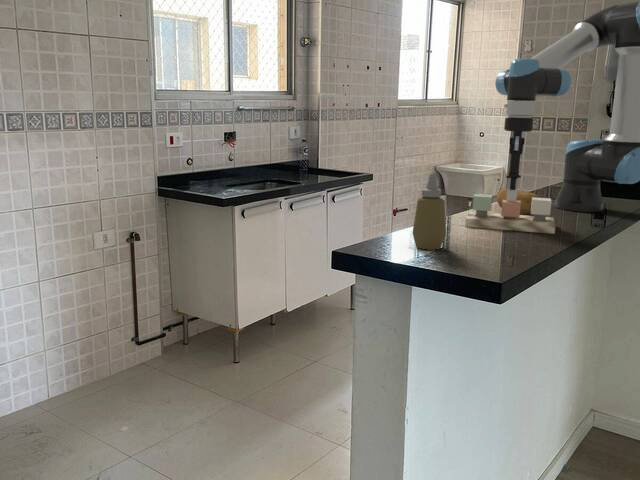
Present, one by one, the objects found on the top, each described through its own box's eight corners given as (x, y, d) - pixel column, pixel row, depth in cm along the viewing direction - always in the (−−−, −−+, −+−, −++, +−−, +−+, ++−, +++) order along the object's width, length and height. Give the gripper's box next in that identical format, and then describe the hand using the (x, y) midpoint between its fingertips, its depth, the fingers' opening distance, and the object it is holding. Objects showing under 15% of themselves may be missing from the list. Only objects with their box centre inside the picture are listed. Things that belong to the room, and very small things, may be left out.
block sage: (490, 215, 177) (492, 194, 176) (489, 218, 173) (491, 197, 171) (473, 214, 179) (474, 193, 177) (471, 217, 174) (473, 196, 173)
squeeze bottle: (423, 253, 141) (427, 176, 137) (405, 245, 149) (408, 172, 144) (451, 250, 144) (456, 175, 140) (432, 242, 152) (437, 171, 148)
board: (552, 225, 176) (553, 217, 175) (554, 233, 165) (555, 225, 164) (468, 219, 183) (469, 211, 182) (465, 226, 172) (465, 218, 171)
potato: (530, 220, 184) (533, 194, 182) (489, 213, 193) (491, 188, 191) (545, 216, 190) (547, 191, 188) (504, 210, 200) (506, 186, 198)
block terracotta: (518, 221, 175) (520, 200, 174) (518, 224, 171) (520, 203, 169) (500, 220, 177) (502, 199, 175) (500, 223, 172) (502, 202, 171)
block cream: (548, 219, 173) (550, 198, 171) (549, 223, 168) (551, 201, 167) (530, 218, 174) (532, 197, 173) (530, 221, 169) (532, 200, 168)
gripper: (505, 116, 174) (498, 196, 179) (504, 116, 162) (496, 203, 167) (533, 116, 172) (524, 198, 177) (534, 117, 160) (525, 205, 165)
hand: (511, 200), depth 172 cm, fingers closed
